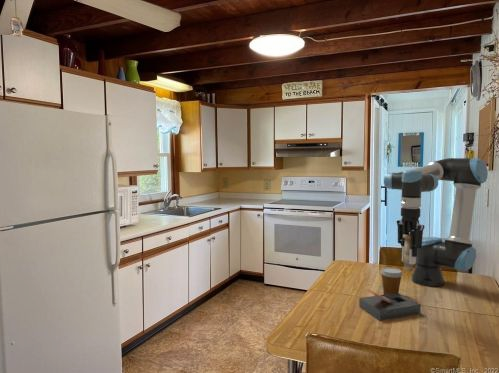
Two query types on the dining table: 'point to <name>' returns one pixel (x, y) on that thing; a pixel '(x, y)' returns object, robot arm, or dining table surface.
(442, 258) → the robot arm
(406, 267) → the peg
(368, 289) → the keeper tab
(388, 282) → the disposable coffee cup
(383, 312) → the plate
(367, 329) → the dining table surface
